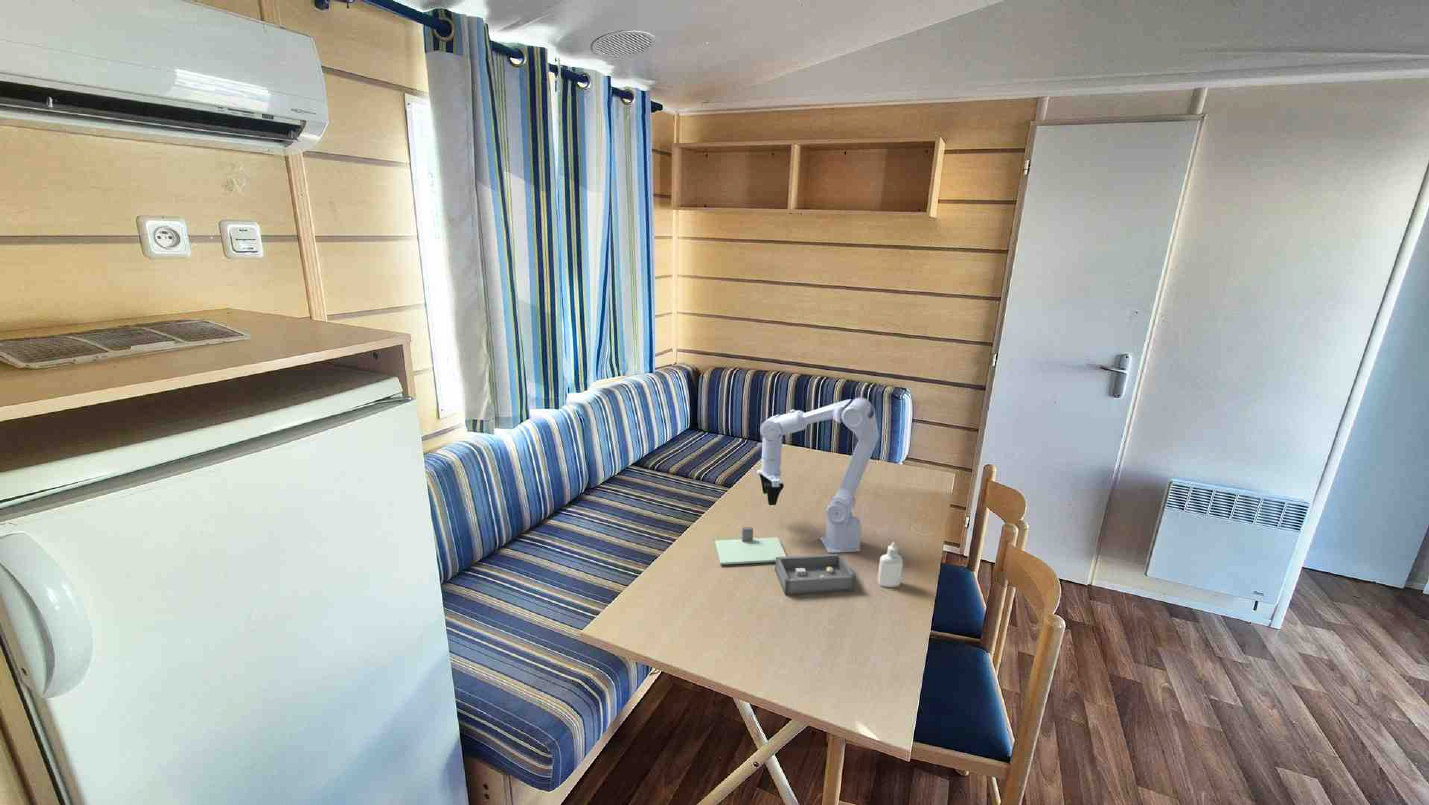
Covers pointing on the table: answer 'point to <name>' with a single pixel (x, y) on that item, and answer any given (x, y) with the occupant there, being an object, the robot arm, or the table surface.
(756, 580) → the table surface
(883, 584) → the eye dropper bottle
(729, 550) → the tub lid
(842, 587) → the parts tub
